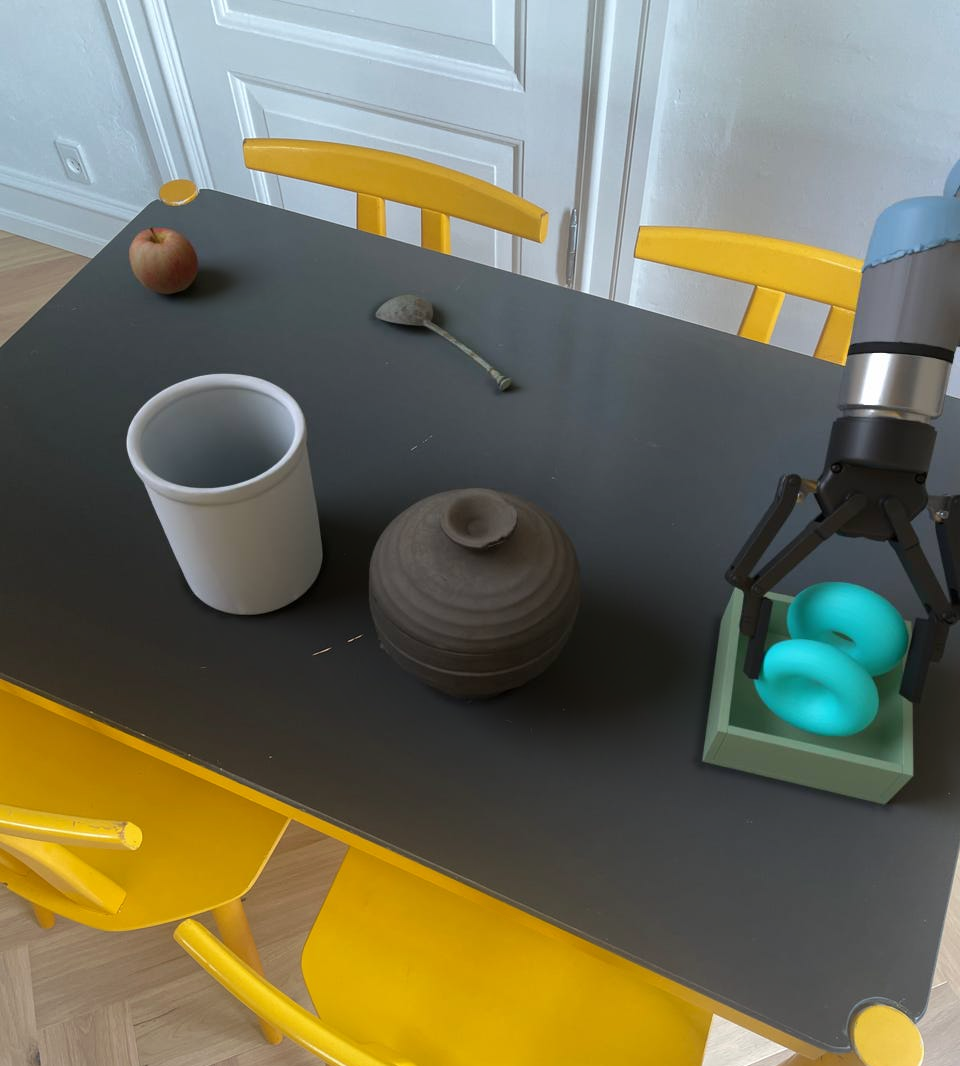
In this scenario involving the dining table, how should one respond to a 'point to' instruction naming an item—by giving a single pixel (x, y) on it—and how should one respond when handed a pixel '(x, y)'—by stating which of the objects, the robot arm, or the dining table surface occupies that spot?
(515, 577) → the pot
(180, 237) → the apple
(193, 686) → the dining table surface
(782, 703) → the donuts
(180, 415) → the utensil holder
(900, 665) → the bin
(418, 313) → the soupspoon
